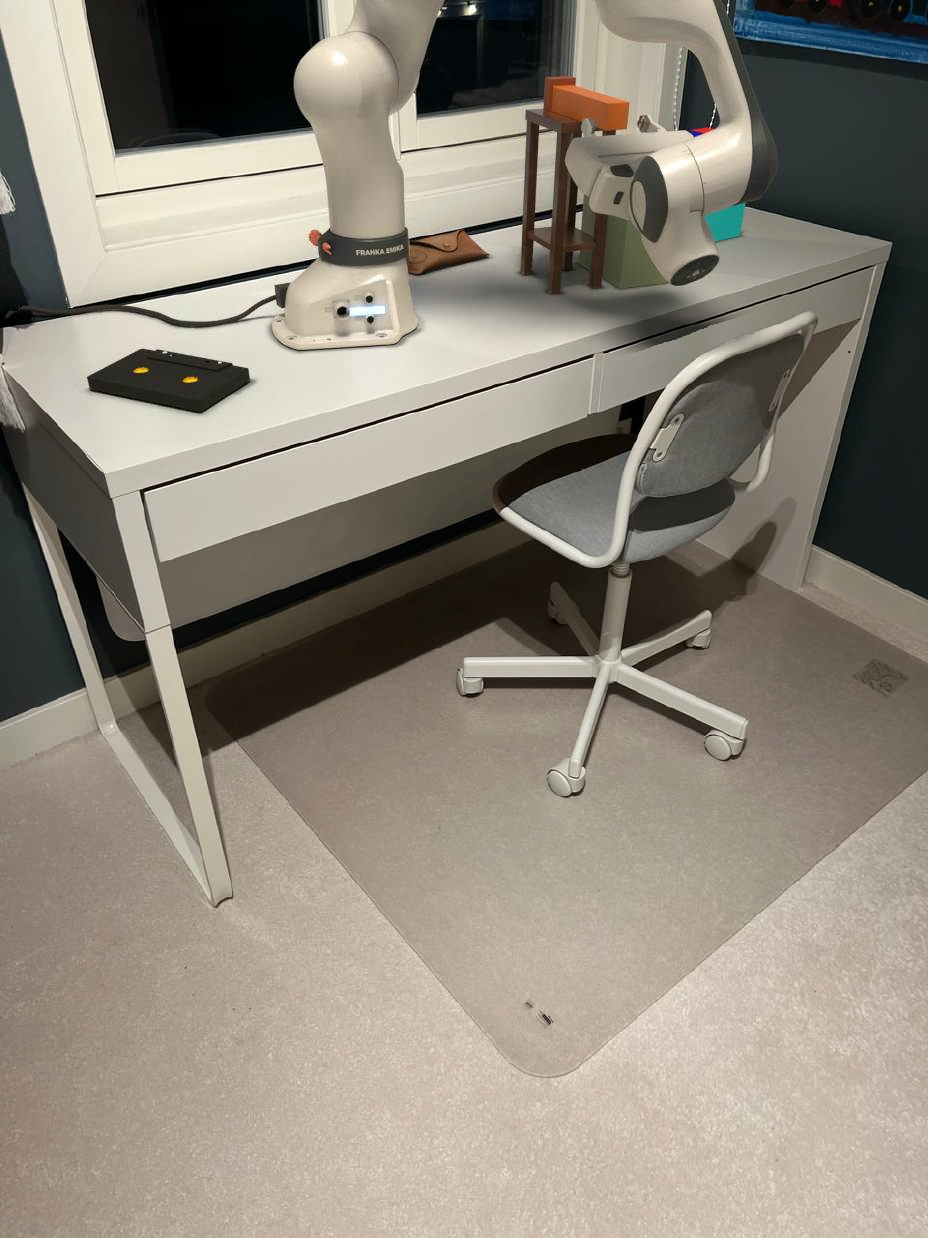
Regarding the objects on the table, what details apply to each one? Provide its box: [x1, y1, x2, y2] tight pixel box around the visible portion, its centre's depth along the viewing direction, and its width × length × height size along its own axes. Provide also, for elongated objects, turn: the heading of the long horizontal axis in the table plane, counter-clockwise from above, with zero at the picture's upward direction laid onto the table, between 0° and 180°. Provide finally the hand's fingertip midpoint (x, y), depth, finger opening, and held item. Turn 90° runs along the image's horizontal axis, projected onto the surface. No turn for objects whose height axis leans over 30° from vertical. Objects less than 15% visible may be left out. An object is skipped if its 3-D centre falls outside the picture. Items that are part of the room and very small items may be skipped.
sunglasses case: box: [408, 228, 491, 275], centre depth 174 cm, size 18×7×7 cm, turn 132°
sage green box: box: [578, 193, 669, 290], centre depth 166 cm, size 10×16×15 cm, turn 22°
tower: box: [542, 75, 631, 131], centre depth 146 cm, size 5×20×5 cm, turn 22°
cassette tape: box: [86, 348, 251, 413], centre depth 128 cm, size 18×12×2 cm, turn 67°
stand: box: [519, 108, 617, 295], centre depth 159 cm, size 10×13×26 cm
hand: (614, 120), depth 140 cm, fingers open, 8 cm apart
